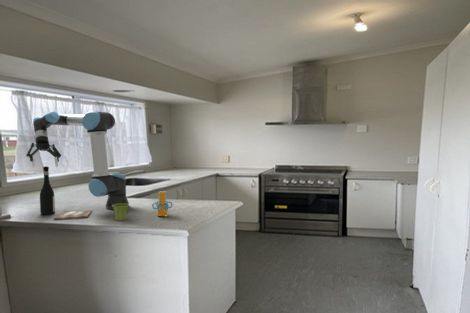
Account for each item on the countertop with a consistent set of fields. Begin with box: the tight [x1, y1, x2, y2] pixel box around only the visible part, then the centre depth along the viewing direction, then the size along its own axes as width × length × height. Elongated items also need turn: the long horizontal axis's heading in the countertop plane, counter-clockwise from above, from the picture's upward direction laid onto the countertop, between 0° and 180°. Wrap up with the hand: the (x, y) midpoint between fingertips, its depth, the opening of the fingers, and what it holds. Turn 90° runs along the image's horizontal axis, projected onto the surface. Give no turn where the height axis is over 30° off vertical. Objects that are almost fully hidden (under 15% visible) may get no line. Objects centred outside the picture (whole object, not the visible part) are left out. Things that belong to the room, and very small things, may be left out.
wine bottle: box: [39, 166, 56, 216], centre depth 205 cm, size 8×8×30 cm
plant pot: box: [112, 203, 130, 221], centre depth 191 cm, size 9×9×9 cm
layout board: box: [53, 209, 93, 221], centre depth 200 cm, size 18×16×1 cm
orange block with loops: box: [151, 190, 173, 217], centre depth 199 cm, size 12×10×15 cm
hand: (45, 165), depth 212 cm, fingers open, 13 cm apart
